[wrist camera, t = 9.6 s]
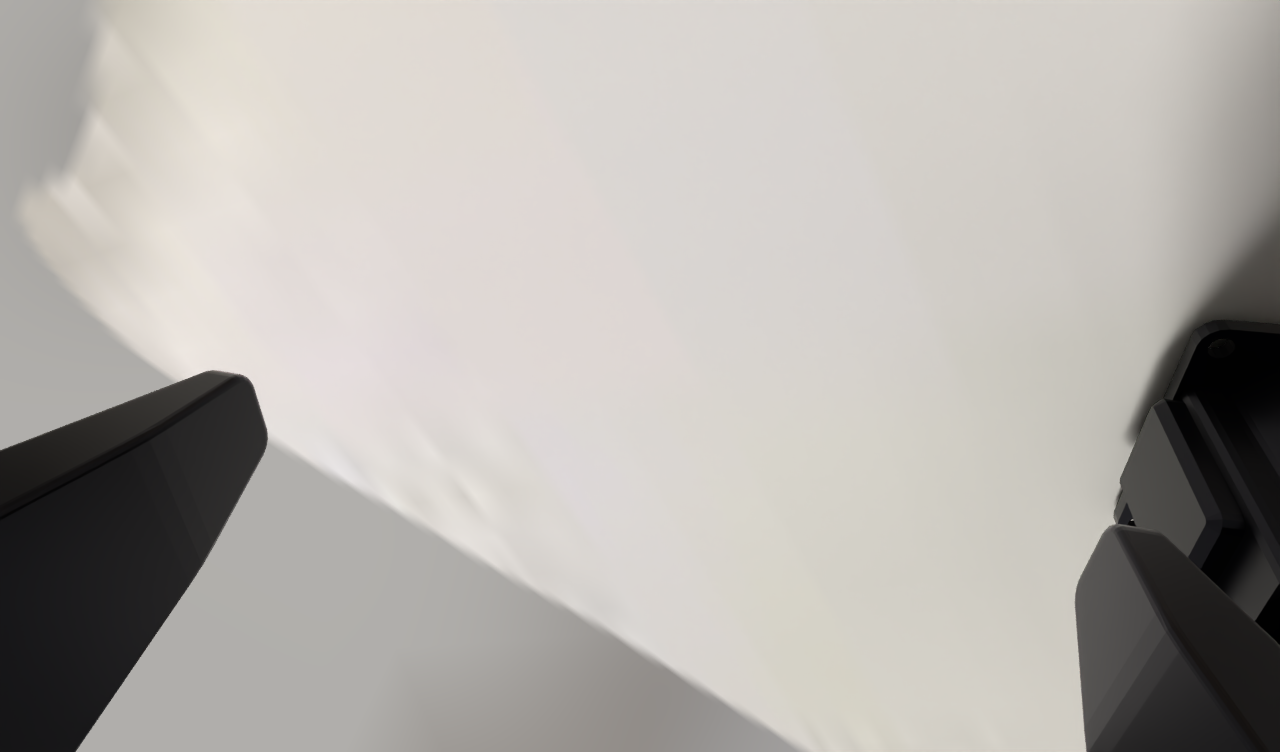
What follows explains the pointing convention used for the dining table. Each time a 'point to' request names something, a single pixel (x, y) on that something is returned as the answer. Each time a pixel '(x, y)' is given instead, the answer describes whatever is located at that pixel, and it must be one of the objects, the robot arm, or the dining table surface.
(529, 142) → the dining table surface
